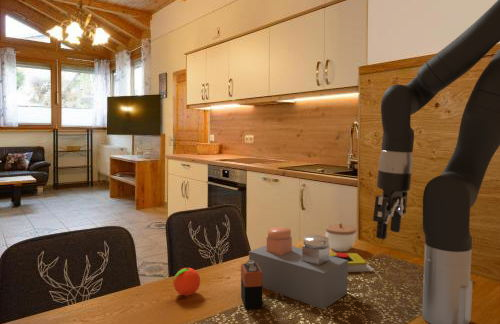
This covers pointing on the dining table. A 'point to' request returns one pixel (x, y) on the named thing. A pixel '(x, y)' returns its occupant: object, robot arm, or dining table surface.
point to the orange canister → (279, 240)
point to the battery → (251, 285)
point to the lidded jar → (340, 236)
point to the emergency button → (354, 262)
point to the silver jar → (315, 249)
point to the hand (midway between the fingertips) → (388, 234)
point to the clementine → (186, 281)
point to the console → (302, 276)
